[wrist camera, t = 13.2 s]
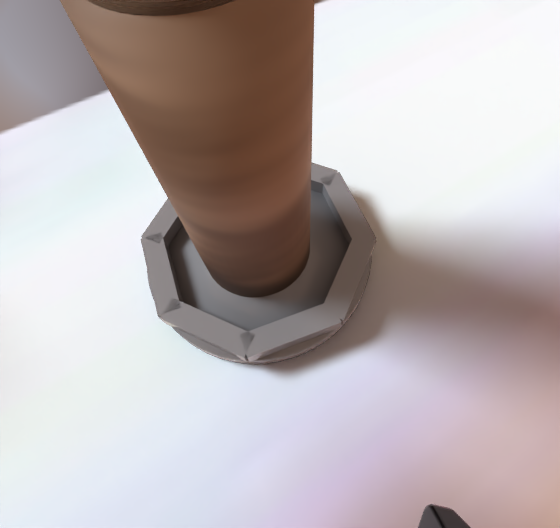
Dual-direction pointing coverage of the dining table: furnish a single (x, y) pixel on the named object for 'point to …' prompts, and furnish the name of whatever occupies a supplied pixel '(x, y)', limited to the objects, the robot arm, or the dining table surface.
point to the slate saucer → (274, 308)
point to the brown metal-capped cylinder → (219, 121)
